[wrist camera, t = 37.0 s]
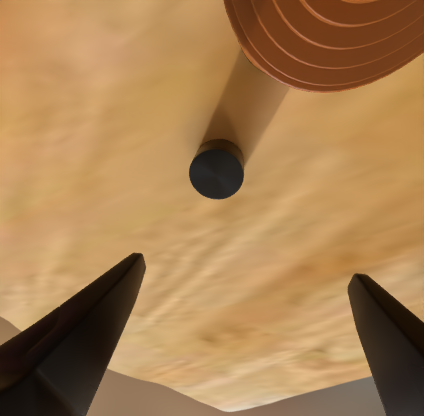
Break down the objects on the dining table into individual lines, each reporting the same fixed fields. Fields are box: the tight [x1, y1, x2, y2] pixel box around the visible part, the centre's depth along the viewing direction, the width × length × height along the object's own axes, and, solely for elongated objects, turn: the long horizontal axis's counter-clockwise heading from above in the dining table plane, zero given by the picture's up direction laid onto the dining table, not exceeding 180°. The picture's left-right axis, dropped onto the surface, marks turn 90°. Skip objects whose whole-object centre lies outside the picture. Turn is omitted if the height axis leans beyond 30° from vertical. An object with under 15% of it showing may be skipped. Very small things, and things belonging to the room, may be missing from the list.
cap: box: [189, 139, 244, 199], centre depth 17 cm, size 4×4×2 cm
